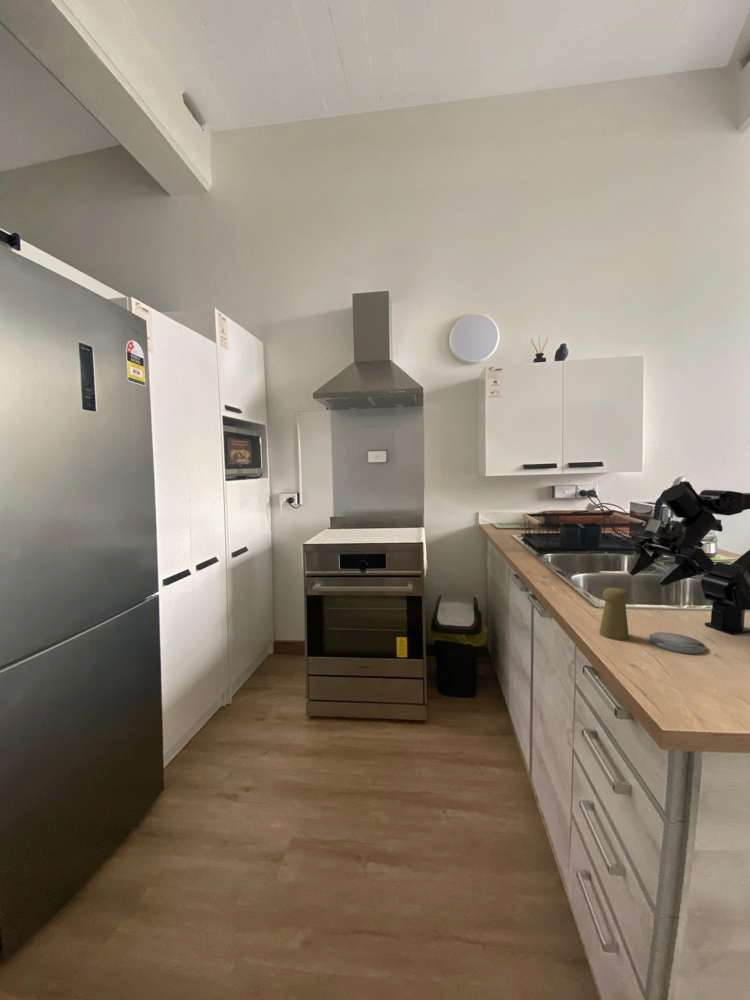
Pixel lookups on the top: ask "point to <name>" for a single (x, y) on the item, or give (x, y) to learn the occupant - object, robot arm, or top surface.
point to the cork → (614, 614)
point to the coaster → (677, 643)
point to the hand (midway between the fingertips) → (645, 579)
